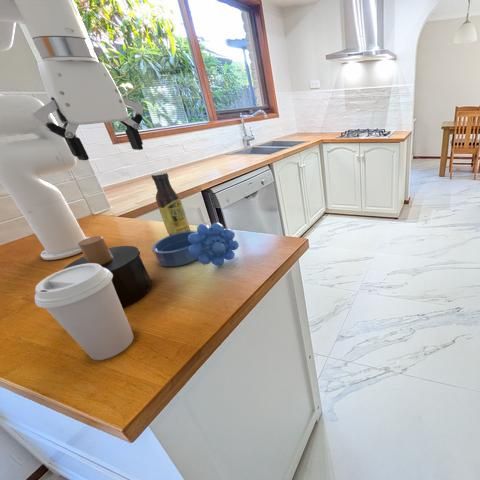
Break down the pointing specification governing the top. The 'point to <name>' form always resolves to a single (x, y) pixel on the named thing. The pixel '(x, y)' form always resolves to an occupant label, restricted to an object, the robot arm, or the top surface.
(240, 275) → the top surface
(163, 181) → the sauce bottle
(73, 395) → the top surface
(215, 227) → the blue flower toy
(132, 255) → the lid
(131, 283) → the pot
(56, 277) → the coffee cup
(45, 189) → the robot arm
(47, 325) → the top surface
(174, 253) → the blue round dish
